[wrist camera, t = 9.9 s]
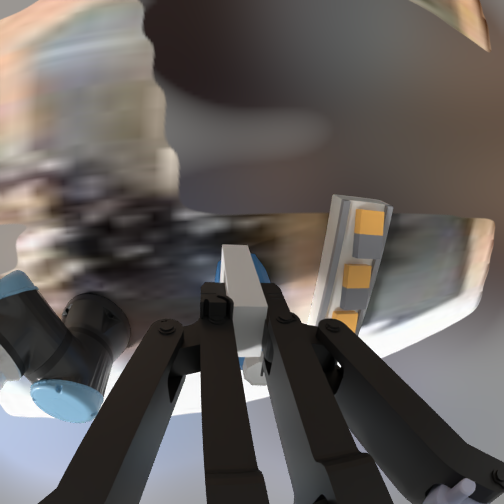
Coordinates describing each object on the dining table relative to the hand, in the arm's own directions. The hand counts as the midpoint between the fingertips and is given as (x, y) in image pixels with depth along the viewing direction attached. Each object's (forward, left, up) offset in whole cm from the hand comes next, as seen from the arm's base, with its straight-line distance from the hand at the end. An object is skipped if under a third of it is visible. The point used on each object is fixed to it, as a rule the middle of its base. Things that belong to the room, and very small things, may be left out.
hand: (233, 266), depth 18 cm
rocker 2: (+25, -16, -26) cm, 40 cm away
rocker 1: (+25, -6, -26) cm, 37 cm away
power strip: (+25, -16, -32) cm, 44 cm away
